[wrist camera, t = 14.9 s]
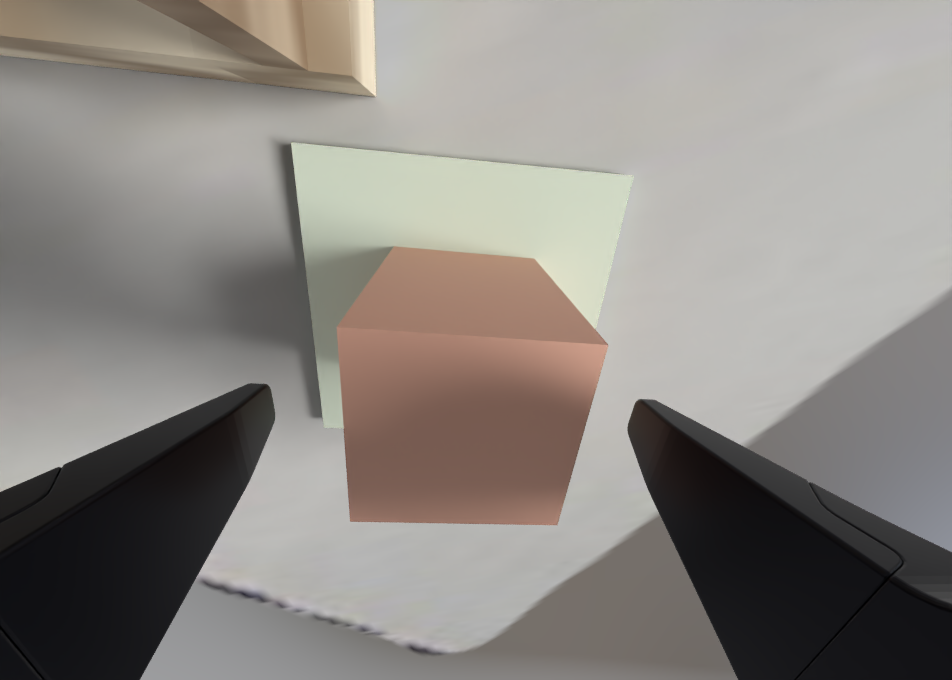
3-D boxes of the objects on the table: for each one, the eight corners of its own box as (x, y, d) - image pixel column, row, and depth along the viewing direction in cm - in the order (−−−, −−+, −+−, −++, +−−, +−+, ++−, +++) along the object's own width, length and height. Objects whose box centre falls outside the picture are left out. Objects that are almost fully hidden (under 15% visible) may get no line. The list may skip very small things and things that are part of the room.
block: (514, 376, 15) (557, 525, 9) (393, 370, 15) (349, 521, 9) (534, 258, 13) (608, 344, 7) (393, 246, 13) (336, 326, 6)
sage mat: (626, 175, 13) (633, 175, 12) (565, 427, 17) (569, 435, 17) (298, 143, 12) (291, 142, 11) (328, 419, 16) (323, 427, 16)
